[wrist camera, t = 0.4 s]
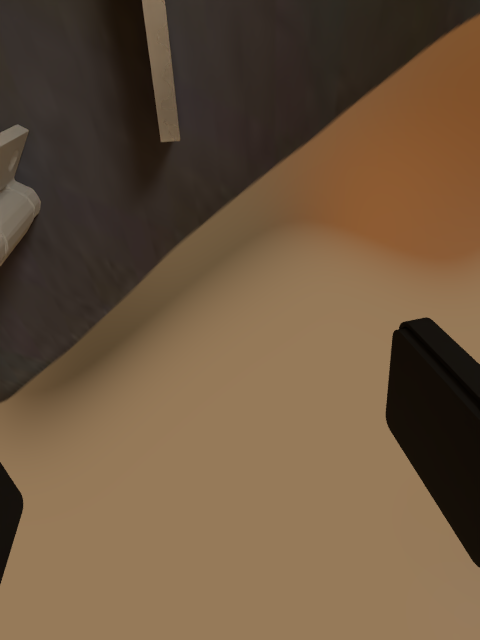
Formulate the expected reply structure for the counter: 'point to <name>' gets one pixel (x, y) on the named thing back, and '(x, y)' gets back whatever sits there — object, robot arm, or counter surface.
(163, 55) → the open leaf
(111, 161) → the counter surface
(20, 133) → the hinge
